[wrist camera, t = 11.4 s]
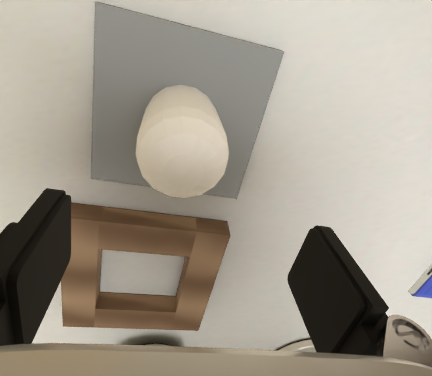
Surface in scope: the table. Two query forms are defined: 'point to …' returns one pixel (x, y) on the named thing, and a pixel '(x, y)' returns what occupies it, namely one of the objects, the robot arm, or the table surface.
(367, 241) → the table surface
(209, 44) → the rubber mat
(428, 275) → the hard drive
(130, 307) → the walnut holder
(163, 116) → the capsule
